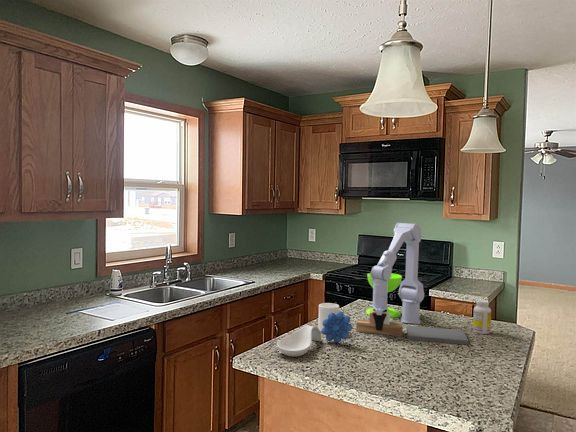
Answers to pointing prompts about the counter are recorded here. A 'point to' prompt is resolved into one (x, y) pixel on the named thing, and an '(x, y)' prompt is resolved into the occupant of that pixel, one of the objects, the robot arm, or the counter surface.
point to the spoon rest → (299, 341)
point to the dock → (436, 335)
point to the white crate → (387, 318)
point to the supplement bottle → (482, 317)
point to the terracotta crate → (371, 317)
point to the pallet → (391, 329)
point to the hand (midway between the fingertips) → (379, 328)
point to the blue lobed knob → (336, 327)
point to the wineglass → (392, 285)
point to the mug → (326, 312)
